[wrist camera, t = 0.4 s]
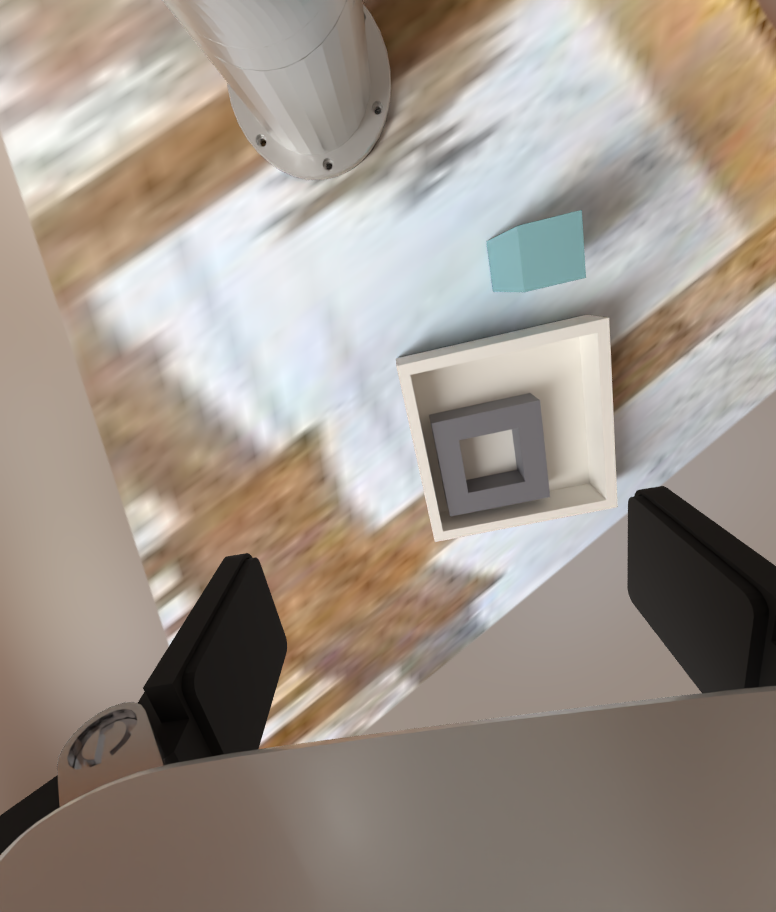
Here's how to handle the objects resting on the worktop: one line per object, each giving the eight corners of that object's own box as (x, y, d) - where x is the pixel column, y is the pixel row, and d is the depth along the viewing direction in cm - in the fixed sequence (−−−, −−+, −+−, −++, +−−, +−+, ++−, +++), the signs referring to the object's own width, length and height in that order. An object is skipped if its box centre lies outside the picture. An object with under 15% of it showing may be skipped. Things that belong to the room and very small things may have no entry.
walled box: (396, 358, 42) (396, 366, 38) (586, 314, 40) (609, 317, 36) (431, 519, 48) (434, 541, 44) (597, 487, 46) (617, 507, 42)
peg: (486, 241, 38) (517, 226, 29) (534, 229, 38) (581, 209, 28) (493, 291, 40) (524, 292, 30) (539, 280, 39) (585, 277, 30)
